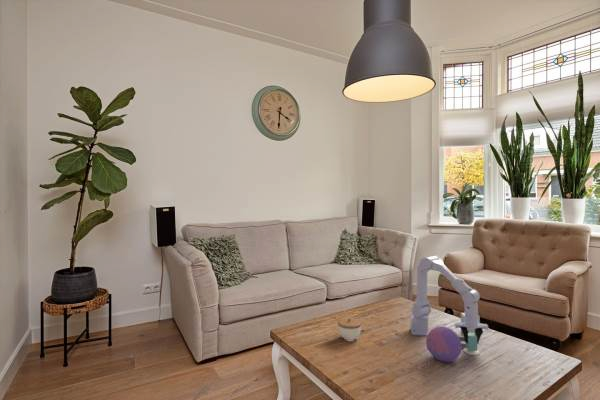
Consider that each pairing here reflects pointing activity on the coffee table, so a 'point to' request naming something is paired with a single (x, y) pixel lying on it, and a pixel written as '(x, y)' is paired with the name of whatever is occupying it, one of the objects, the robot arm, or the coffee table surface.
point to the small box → (464, 321)
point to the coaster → (471, 352)
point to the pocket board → (462, 340)
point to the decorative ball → (443, 344)
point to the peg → (472, 342)
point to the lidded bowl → (349, 328)
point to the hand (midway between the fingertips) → (471, 342)
